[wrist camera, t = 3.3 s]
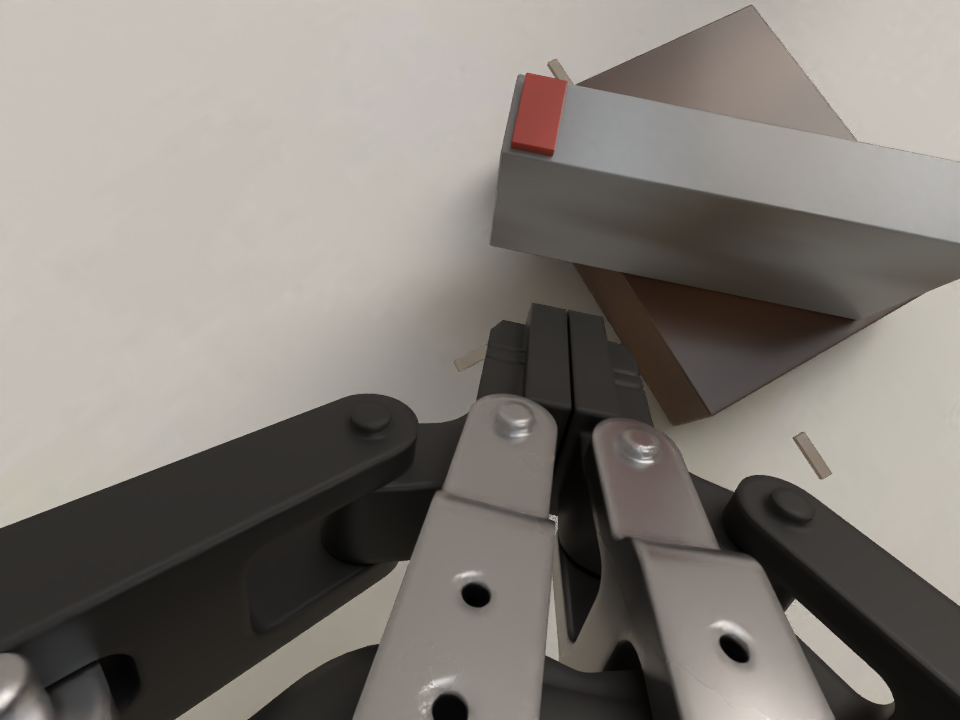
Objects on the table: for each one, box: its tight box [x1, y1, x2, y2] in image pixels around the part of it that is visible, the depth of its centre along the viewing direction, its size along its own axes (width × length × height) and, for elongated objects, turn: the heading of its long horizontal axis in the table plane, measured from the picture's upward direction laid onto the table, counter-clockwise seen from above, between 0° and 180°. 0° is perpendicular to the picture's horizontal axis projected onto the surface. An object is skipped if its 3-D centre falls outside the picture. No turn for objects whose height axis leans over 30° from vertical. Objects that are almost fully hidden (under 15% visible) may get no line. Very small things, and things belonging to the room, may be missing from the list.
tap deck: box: [454, 5, 924, 479], centre depth 19 cm, size 16×16×3 cm
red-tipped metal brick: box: [490, 73, 960, 320], centre depth 15 cm, size 12×2×5 cm, turn 79°
